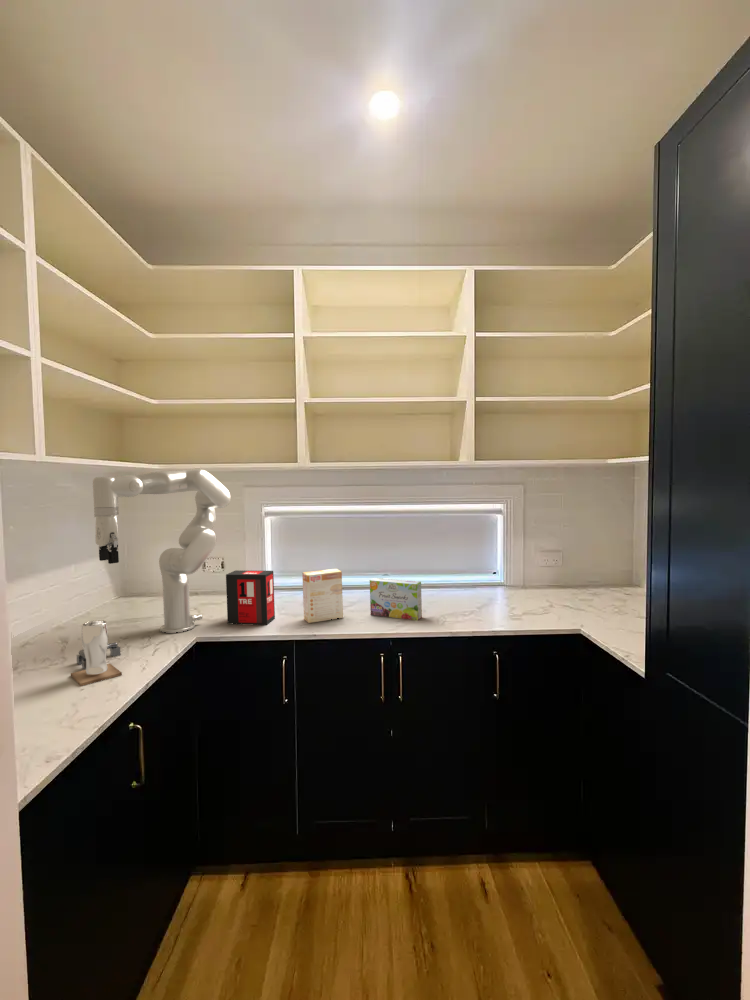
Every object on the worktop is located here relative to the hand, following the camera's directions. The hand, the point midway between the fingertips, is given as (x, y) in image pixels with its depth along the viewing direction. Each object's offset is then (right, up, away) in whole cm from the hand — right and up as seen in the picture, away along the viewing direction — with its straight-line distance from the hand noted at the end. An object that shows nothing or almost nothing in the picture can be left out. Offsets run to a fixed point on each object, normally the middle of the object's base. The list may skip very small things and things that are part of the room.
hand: (108, 561), depth 178 cm
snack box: (+101, -27, +33) cm, 109 cm away
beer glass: (+9, -31, -24) cm, 40 cm away
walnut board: (+9, -31, -24) cm, 40 cm away
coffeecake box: (+71, -27, +32) cm, 83 cm away
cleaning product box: (+42, -28, +30) cm, 59 cm away
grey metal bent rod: (+4, -31, -12) cm, 33 cm away
